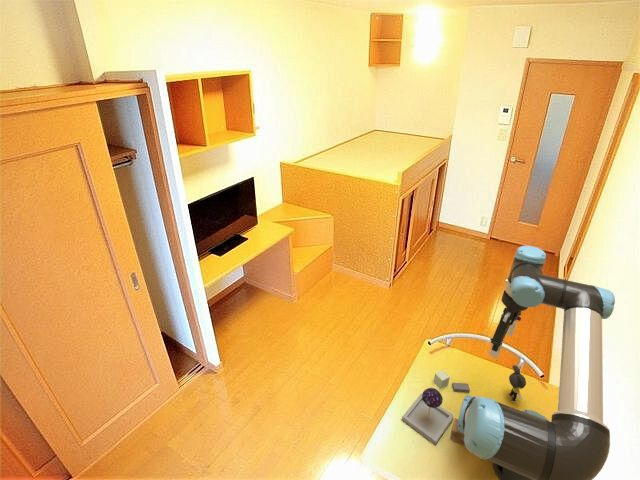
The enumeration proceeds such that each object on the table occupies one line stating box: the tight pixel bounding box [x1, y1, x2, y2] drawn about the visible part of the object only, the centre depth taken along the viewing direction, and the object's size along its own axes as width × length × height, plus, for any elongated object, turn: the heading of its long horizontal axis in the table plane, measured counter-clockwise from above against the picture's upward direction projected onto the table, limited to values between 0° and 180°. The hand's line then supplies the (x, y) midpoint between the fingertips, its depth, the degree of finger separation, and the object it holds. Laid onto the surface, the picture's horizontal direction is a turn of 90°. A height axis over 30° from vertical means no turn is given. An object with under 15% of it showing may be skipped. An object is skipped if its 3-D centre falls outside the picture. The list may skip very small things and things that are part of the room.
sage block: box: [433, 369, 451, 390], centre depth 141 cm, size 4×4×5 cm
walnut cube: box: [449, 418, 465, 446], centre depth 122 cm, size 5×5×5 cm
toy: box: [508, 365, 527, 403], centre depth 132 cm, size 8×5×15 cm, turn 179°
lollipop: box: [421, 387, 443, 419], centre depth 124 cm, size 7×7×15 cm
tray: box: [401, 393, 455, 446], centre depth 128 cm, size 13×13×2 cm
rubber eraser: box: [451, 381, 471, 394], centre depth 139 cm, size 6×3×2 cm, turn 84°
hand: (500, 344), depth 116 cm, fingers open, 13 cm apart
